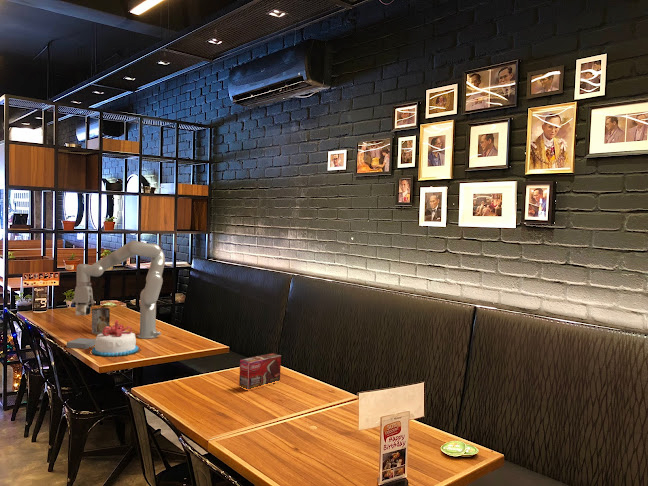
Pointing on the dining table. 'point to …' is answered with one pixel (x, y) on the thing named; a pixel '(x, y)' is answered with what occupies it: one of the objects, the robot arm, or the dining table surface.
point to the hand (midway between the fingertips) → (83, 313)
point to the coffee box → (100, 319)
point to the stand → (81, 343)
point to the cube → (81, 309)
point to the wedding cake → (115, 342)
